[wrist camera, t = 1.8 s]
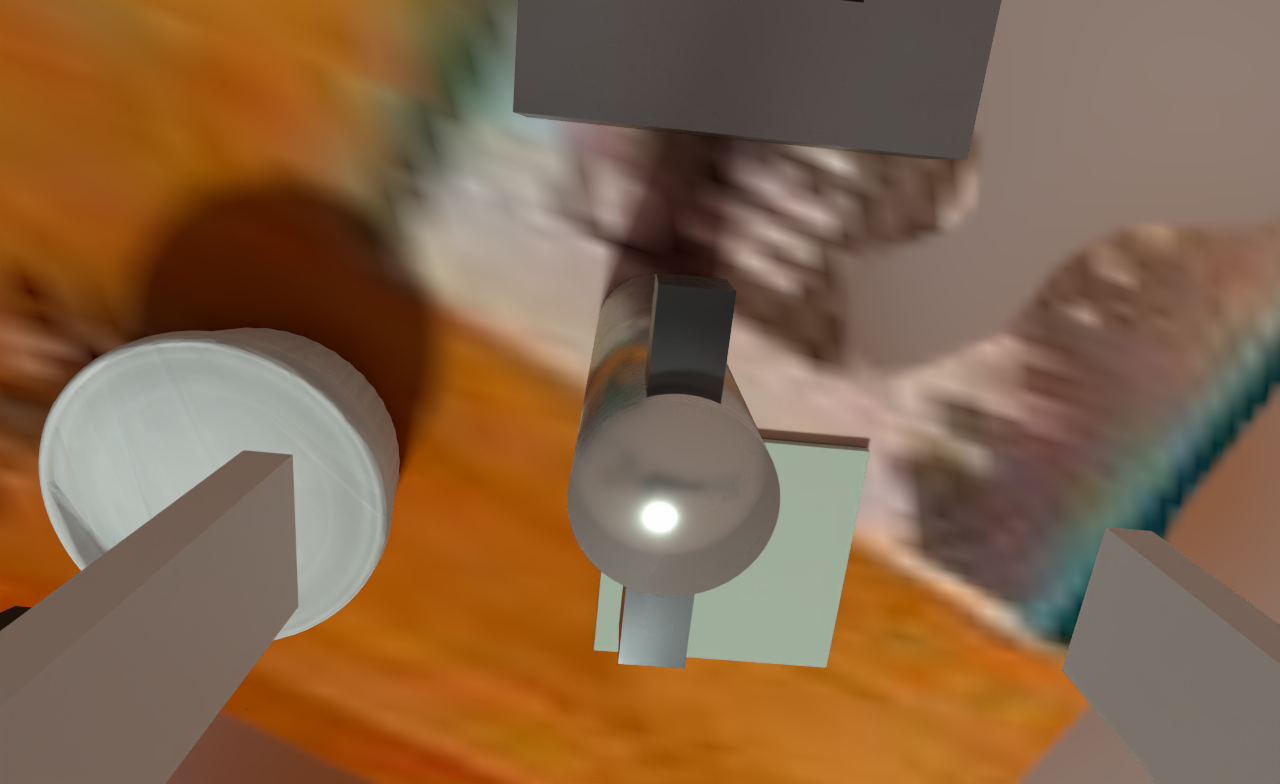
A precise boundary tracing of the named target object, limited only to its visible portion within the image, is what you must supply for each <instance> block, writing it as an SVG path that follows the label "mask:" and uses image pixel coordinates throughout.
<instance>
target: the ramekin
mask: <svg viewBox="0 0 1280 784" xmlns="http://www.w3.org/2000/svg"><path fill="white" fill-rule="evenodd" d="M243 450H247V451H258V452H270V453H281V454H292V455H293V474H294V501H295V528H296V554H297V581H298V608H297V609H296V611H295V612H294V613H293V615H292V616H291V617H290V619H289V620H288V621H287V623H286V624H285V625H284V627H283V628H282V629H281V631H280V632H279V633H278V635H277V636H276V637H275V639H274V640H276V639H280V638H283V637H287V636H291V635H294V634H297V633H299V632H302V631H305V630H307V629H309V628H311V627H313V626H315V625H317V624H319V623H321V622H322V621H324V620H326V619H327V618H329V617H330V616H332V615H333V614H335V613H336V612H337V611H339V610H340V609H341V608H342V607H344V606H345V605H346V604H347V603H348V602H349V601H350V600H351V599H352V598H353V597H354V596H355V595H356V594H357V593H358V592H359V591H360V589H361V588H362V587H363V586H364V584H365V583H366V582H367V580H368V579H369V577H370V576H371V574H372V573H373V571H374V569H375V568H376V566H377V564H378V562H379V560H380V558H381V556H382V554H383V551H384V549H385V546H386V543H387V540H388V537H389V533H390V528H391V521H392V511H393V502H394V499H395V495H396V490H397V484H398V481H399V466H400V458H399V445H398V442H397V438H396V430H395V428H394V425H393V423H392V419H391V416H390V414H389V413H388V411H387V410H386V407H385V404H384V402H383V400H382V399H381V398H380V397H379V395H378V394H377V392H376V390H375V388H374V387H373V386H372V385H371V384H370V383H369V382H368V381H367V380H366V378H365V377H364V375H363V374H362V373H360V372H359V371H357V370H356V369H355V368H354V367H353V366H352V364H351V363H350V362H348V361H346V360H344V359H343V358H341V357H340V356H339V355H338V354H337V353H336V352H334V351H332V350H330V349H328V348H326V347H324V346H323V345H321V344H320V343H318V342H315V341H312V340H310V339H308V338H306V337H304V336H300V335H296V334H293V333H290V332H287V331H278V330H274V329H270V328H248V327H247V328H238V329H226V330H218V331H177V332H168V333H162V334H157V335H152V336H149V337H145V338H141V339H139V340H136V341H133V342H130V343H127V344H123V345H121V346H118V347H115V348H114V349H112V350H110V351H108V352H107V353H105V354H103V355H101V356H100V357H98V358H97V359H95V360H93V361H92V362H91V363H89V364H88V365H87V366H85V367H84V368H83V369H82V370H81V371H79V372H78V373H77V374H76V375H75V376H74V377H73V378H72V379H71V380H70V381H69V382H68V384H67V385H66V386H65V387H64V389H63V390H62V391H61V393H60V394H59V396H58V397H57V399H56V400H55V402H54V403H53V405H52V407H51V409H50V412H49V414H48V416H47V419H46V422H45V425H44V428H43V432H42V437H41V442H40V450H39V478H40V485H41V492H42V496H43V500H44V503H45V507H46V510H47V513H48V516H49V518H50V521H51V523H52V525H53V528H54V530H55V532H56V534H57V536H58V537H59V539H60V541H61V543H62V544H63V546H64V548H65V549H66V551H67V552H68V554H69V555H70V557H71V558H72V560H73V561H74V562H75V563H76V565H77V566H78V567H79V568H80V570H81V571H82V570H83V569H84V568H86V567H87V566H89V565H90V564H91V563H93V562H94V561H95V560H97V559H98V558H99V557H101V556H102V555H103V554H105V553H106V552H107V551H109V550H110V549H111V548H113V547H114V546H115V545H117V544H118V543H119V542H121V541H122V540H123V539H125V538H126V537H127V536H129V535H130V534H132V533H133V532H134V531H136V530H137V529H138V528H140V527H141V526H142V525H144V524H145V523H146V522H148V521H149V520H150V519H152V518H153V517H154V516H156V515H157V514H158V513H160V512H161V511H162V510H164V509H165V508H166V507H168V506H169V505H171V504H172V503H173V502H175V501H176V500H177V499H179V498H180V497H181V496H183V495H184V494H185V493H187V492H188V491H189V490H191V489H192V488H193V487H195V486H196V485H197V484H199V483H200V482H201V481H203V480H204V479H205V478H207V477H208V476H209V475H211V474H212V473H214V472H215V471H216V470H218V469H219V468H220V467H222V466H223V465H224V464H226V463H227V462H228V461H230V460H231V459H232V458H234V457H235V456H236V455H238V454H239V453H240V452H242V451H243Z"/></svg>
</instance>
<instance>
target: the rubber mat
mask: <svg viewBox="0 0 1280 784" xmlns="http://www.w3.org/2000/svg"><path fill="white" fill-rule="evenodd" d="M763 442H764V444H765V446H766V448H767V450H768V452H769V454H770V456H771V459H772V461H773V463H774V466H775V469H776V472H777V475H778V480H779V485H780V509H779V515H778V519H777V523H776V526H775V529H774V531H773V534H772V536H771V538H770V540H769V542H768V544H767V545H766V547H765V549H764V550H763V551H762V553H761V554H760V555H759V557H758V558H757V559H756V560H755V561H754V562H753V563H752V564H751V565H750V566H749V567H748V568H747V569H746V570H744V571H743V572H742V573H741V574H740V575H738V576H737V577H735V578H733V579H732V580H730V581H729V582H727V583H725V584H723V585H721V586H719V587H716V588H714V589H711V590H708V591H705V592H702V593H697V594H695V596H694V603H693V610H692V618H691V625H690V632H689V640H688V647H687V654H686V657H693V658H707V659H720V660H733V661H747V662H760V663H773V664H786V665H800V666H813V667H826V666H827V661H828V656H829V651H830V646H831V641H832V636H833V631H834V626H835V621H836V616H837V611H838V607H839V602H840V597H841V592H842V587H843V582H844V577H845V572H846V567H847V562H848V557H849V552H850V547H851V542H852V537H853V532H854V528H855V523H856V518H857V513H858V508H859V503H860V498H861V493H862V488H863V483H864V478H865V473H866V468H867V463H868V458H869V453H870V451H869V450H868V449H867V448H861V447H850V446H838V445H827V444H815V443H804V442H793V441H781V440H770V439H763ZM622 589H623V585H621V584H619V583H617V582H616V581H614V580H612V579H611V578H609V577H608V576H606V575H605V574H604V573H602V572H601V579H600V590H599V600H598V611H597V622H596V632H595V643H594V650H601V651H614V652H618V643H619V618H620V608H621V599H622Z"/></svg>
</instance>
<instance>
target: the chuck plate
mask: <svg viewBox="0 0 1280 784" xmlns="http://www.w3.org/2000/svg"><path fill="white" fill-rule="evenodd" d="M1000 4H1001V0H518V18H517V40H516V62H515V83H514V105H513V112H515V113H518V114H520V115H523V116H526V117H531V118H541V119H550V120H560V121H569V122H579V123H588V124H598V125H608V126H617V127H627V128H636V129H646V130H655V131H665V132H674V133H684V134H693V135H703V136H712V137H722V138H731V139H741V140H750V141H760V142H769V143H779V144H789V145H798V146H808V147H817V148H827V149H836V150H846V151H855V152H865V153H874V154H884V155H893V156H903V157H912V158H922V159H958V160H967V157H968V152H969V147H970V143H971V138H972V134H973V129H974V124H975V120H976V115H977V110H978V106H979V101H980V97H981V92H982V87H983V83H984V78H985V74H986V68H987V64H988V60H989V55H990V50H991V46H992V41H993V37H994V32H995V27H996V22H997V18H998V14H999V9H1000Z"/></svg>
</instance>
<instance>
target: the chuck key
mask: <svg viewBox="0 0 1280 784" xmlns="http://www.w3.org/2000/svg"><path fill="white" fill-rule="evenodd" d="M735 297H736V291H735V289H734V288H733V287H732V285H731V284H730V283H729V282H728V280H727V279H720V278H709V277H699V276H689V275H678V274H668V273H658V272H656V274H655V275H644V276H639V277H635V278H632V279H630V280H628V281H626V282H624V283H622V284H621V285H619V286H618V287H617V288H616V289H615V290H613V291H612V292H611V294H610V295H609V296H608V297H607V299H606V301H605V302H604V304H603V306H602V308H601V311H600V314H599V319H598V324H597V330H596V336H595V341H594V347H593V353H592V358H591V364H590V369H589V375H588V381H587V386H586V392H585V397H584V403H583V409H582V414H581V420H580V426H579V431H578V437H577V442H576V448H575V454H574V459H573V465H572V471H571V476H570V482H569V489H568V514H569V520H570V524H571V527H572V531H573V533H574V536H575V538H576V540H577V542H578V544H579V546H580V547H581V549H582V551H583V552H584V554H585V555H586V556H587V557H588V559H589V560H590V561H591V562H592V563H593V564H594V565H595V566H596V567H597V568H598V569H599V570H600V571H601V572H602V573H604V574H605V575H606V576H608V577H609V578H611V579H612V580H614V581H616V582H617V583H619V584H621V585H623V589H622V599H621V608H620V618H619V643H618V664H631V665H644V666H658V667H671V668H685V662H686V654H687V647H688V640H689V632H690V625H691V618H692V610H693V603H694V596H695V594H697V593H702V592H705V591H708V590H711V589H714V588H716V587H719V586H721V585H723V584H725V583H727V582H729V581H730V580H732V579H733V578H735V577H737V576H738V575H740V574H741V573H742V572H743V571H744V570H746V569H747V568H748V567H749V566H750V565H751V564H752V563H753V562H754V561H755V560H756V559H757V558H758V557H759V555H760V554H761V553H762V551H763V550H764V549H765V547H766V545H767V544H768V542H769V540H770V538H771V536H772V534H773V531H774V529H775V526H776V523H777V519H778V515H779V509H780V485H779V480H778V475H777V472H776V469H775V466H774V463H773V461H772V459H771V456H770V454H769V452H768V450H767V448H766V446H765V444H764V442H763V439H762V437H761V435H760V433H759V431H758V429H757V427H756V424H755V422H754V420H753V418H752V416H751V414H750V412H749V410H748V407H747V405H746V403H745V401H744V399H743V397H742V395H741V393H740V390H739V388H738V386H737V384H736V382H735V380H734V378H733V376H732V373H731V371H730V369H729V367H728V365H727V355H728V348H729V341H730V333H731V326H732V319H733V312H734V304H735Z"/></svg>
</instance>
